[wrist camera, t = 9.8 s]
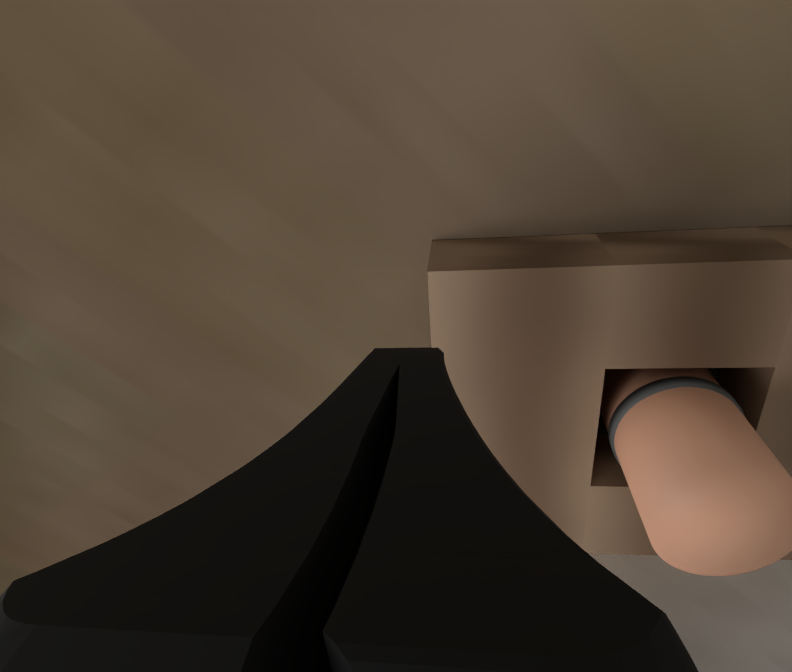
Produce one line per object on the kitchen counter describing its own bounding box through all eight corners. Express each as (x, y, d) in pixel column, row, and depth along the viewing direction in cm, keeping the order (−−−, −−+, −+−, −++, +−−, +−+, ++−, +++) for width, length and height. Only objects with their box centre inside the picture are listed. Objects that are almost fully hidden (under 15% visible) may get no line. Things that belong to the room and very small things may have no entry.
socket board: (443, 493, 24) (441, 547, 22) (431, 240, 19) (427, 271, 16) (828, 501, 22) (877, 562, 19) (946, 219, 16) (1037, 251, 14)
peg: (585, 425, 22) (635, 574, 15) (597, 336, 20) (659, 465, 14) (693, 427, 21) (788, 581, 15) (716, 335, 19) (837, 469, 13)
